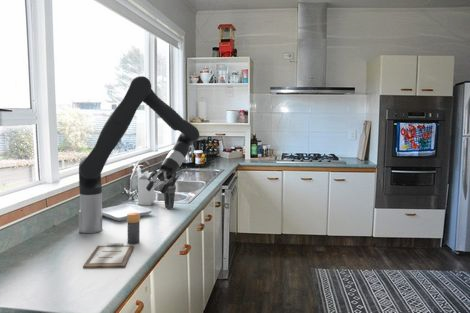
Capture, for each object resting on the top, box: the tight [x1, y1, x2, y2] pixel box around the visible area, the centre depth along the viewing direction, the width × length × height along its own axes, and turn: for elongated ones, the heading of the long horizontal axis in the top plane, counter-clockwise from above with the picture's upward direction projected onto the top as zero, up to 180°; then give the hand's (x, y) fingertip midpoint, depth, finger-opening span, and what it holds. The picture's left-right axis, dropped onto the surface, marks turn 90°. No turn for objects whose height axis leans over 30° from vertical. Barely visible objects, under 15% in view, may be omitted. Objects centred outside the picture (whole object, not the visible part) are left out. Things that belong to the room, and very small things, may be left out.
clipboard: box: [82, 242, 135, 269], centre depth 142 cm, size 14×20×2 cm
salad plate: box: [102, 203, 153, 222], centre depth 198 cm, size 21×21×3 cm
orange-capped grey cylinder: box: [126, 212, 141, 245], centre depth 158 cm, size 5×5×12 cm
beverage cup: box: [163, 178, 177, 210], centre depth 214 cm, size 7×7×20 cm
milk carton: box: [137, 170, 155, 206], centre depth 223 cm, size 7×7×19 cm
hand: (154, 191), depth 166 cm, fingers open, 8 cm apart
